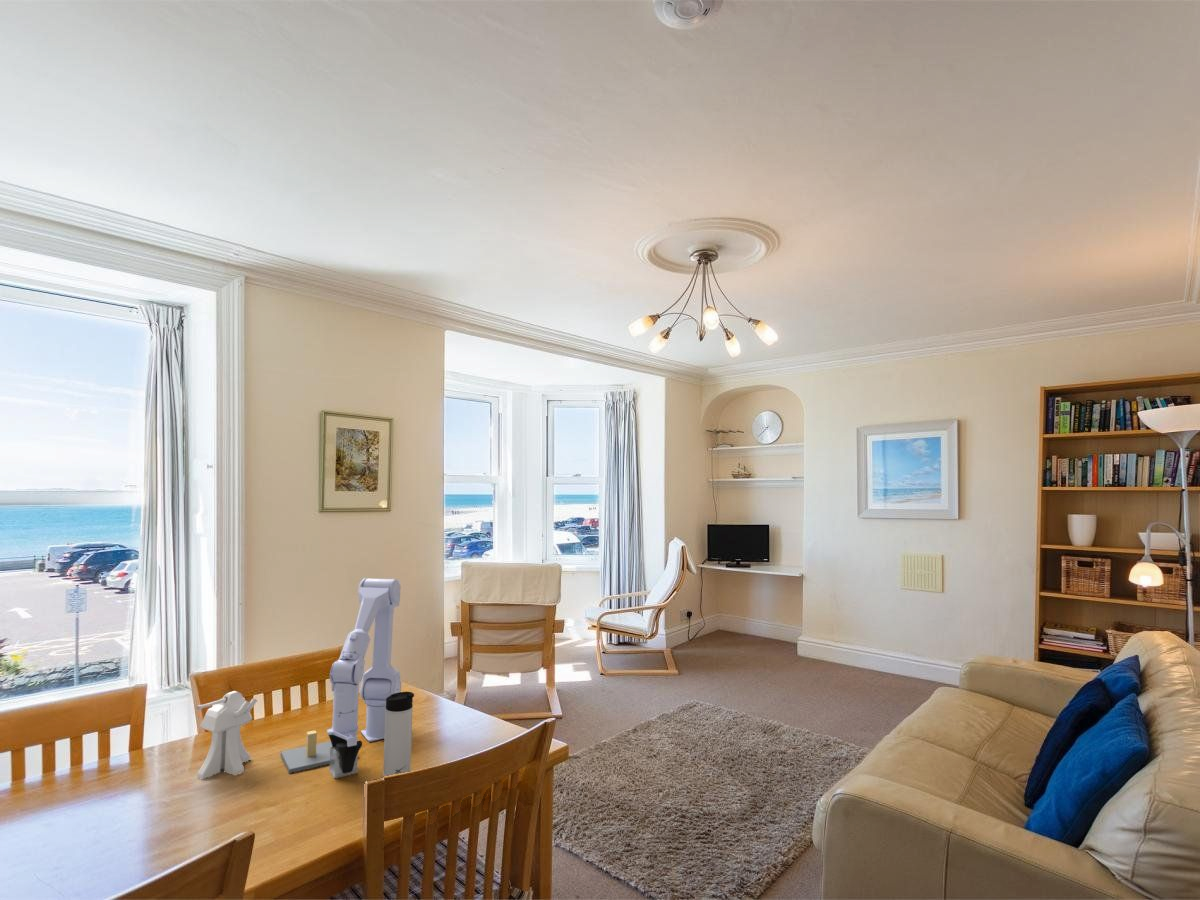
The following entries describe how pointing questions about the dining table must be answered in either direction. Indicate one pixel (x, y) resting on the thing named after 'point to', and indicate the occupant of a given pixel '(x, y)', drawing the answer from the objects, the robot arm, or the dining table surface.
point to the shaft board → (306, 762)
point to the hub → (339, 764)
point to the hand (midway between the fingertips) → (343, 766)
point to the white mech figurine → (226, 734)
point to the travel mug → (398, 733)
